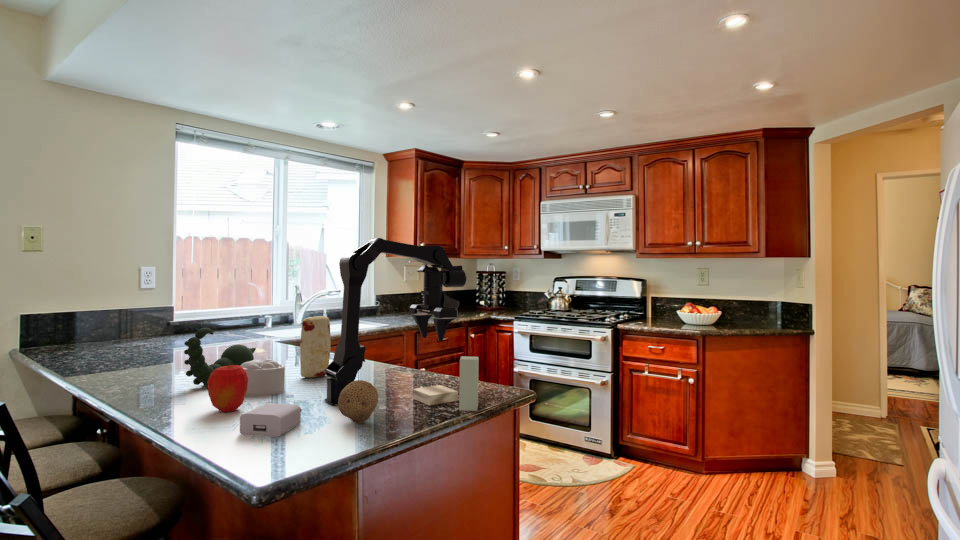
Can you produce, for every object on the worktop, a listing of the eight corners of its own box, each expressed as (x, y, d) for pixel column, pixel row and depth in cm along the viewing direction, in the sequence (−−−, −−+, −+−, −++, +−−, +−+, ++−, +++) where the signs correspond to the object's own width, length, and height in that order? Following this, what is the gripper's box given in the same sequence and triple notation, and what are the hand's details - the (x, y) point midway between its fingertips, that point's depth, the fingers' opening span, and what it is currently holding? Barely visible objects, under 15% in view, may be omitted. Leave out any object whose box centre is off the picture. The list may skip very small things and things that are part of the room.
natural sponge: (368, 431, 111) (368, 385, 111) (330, 428, 113) (330, 383, 113) (383, 419, 120) (384, 377, 120) (348, 417, 122) (348, 375, 122)
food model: (303, 380, 161) (304, 317, 161) (296, 376, 167) (297, 315, 167) (333, 376, 167) (334, 316, 167) (325, 373, 173) (326, 314, 173)
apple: (229, 404, 132) (230, 357, 132) (256, 408, 129) (257, 360, 129) (198, 413, 123) (198, 363, 123) (226, 417, 120) (226, 366, 120)
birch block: (429, 407, 134) (429, 395, 134) (412, 399, 141) (412, 388, 141) (457, 402, 139) (457, 391, 139) (440, 395, 146) (440, 384, 146)
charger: (313, 418, 122) (280, 438, 107) (277, 416, 123) (239, 435, 108) (313, 398, 122) (280, 415, 107) (277, 396, 123) (239, 413, 108)
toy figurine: (204, 398, 144) (268, 374, 167) (199, 332, 142) (265, 317, 166) (179, 395, 147) (245, 371, 171) (174, 330, 146) (242, 315, 169)
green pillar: (459, 410, 129) (459, 359, 129) (460, 405, 134) (461, 356, 134) (476, 410, 129) (477, 359, 129) (477, 406, 134) (478, 356, 134)
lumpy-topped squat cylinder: (253, 386, 153) (253, 357, 153) (292, 388, 151) (292, 359, 151) (229, 394, 143) (230, 363, 143) (271, 397, 140) (272, 365, 140)
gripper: (473, 288, 150) (472, 341, 150) (439, 286, 165) (438, 334, 165) (440, 288, 143) (440, 344, 143) (408, 286, 158) (408, 336, 158)
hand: (432, 339), depth 153 cm, fingers open, 9 cm apart
